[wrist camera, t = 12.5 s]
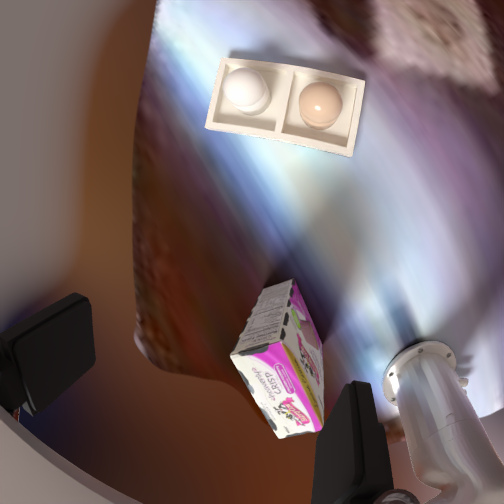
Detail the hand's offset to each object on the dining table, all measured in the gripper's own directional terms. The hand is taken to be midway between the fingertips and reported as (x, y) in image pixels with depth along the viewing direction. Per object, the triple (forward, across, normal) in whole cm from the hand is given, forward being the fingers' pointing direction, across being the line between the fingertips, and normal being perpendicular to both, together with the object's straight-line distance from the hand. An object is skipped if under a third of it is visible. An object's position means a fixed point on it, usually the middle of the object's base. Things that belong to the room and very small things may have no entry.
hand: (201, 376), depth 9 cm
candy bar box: (+28, -4, +11) cm, 31 cm away
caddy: (+28, +3, -16) cm, 32 cm away
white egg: (+28, +7, -16) cm, 33 cm away
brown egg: (+28, -1, -15) cm, 32 cm away
